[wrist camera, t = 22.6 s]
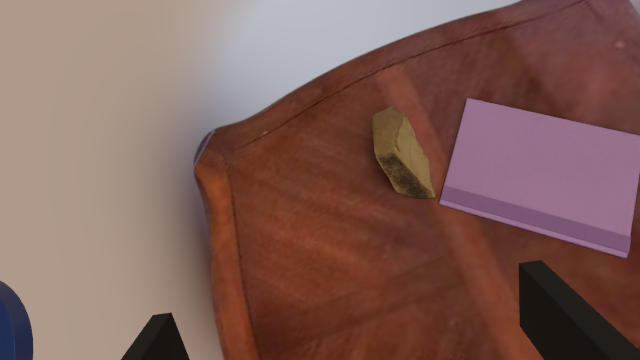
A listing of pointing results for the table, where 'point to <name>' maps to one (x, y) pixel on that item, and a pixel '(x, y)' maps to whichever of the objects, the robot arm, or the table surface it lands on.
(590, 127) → the lavender flat block
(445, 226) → the table surface
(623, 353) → the robot arm
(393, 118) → the rock
